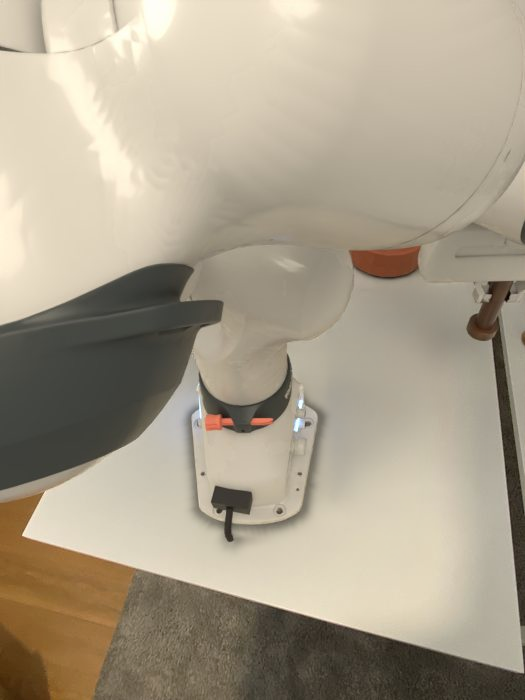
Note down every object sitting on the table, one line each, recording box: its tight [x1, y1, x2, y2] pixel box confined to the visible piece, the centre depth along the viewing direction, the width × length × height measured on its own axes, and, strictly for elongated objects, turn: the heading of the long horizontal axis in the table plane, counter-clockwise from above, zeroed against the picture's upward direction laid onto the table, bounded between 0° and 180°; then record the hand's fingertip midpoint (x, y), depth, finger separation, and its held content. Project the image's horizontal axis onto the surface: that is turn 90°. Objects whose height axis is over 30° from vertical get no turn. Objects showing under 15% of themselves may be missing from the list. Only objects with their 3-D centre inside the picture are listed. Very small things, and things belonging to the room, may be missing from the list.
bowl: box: [349, 246, 421, 278], centre depth 91 cm, size 14×14×6 cm
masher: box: [466, 281, 515, 342], centre depth 60 cm, size 4×4×12 cm
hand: (495, 299), depth 60 cm, fingers closed on masher, 2 cm apart
